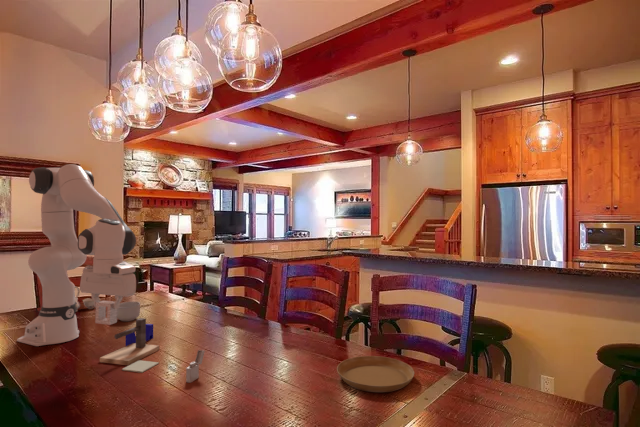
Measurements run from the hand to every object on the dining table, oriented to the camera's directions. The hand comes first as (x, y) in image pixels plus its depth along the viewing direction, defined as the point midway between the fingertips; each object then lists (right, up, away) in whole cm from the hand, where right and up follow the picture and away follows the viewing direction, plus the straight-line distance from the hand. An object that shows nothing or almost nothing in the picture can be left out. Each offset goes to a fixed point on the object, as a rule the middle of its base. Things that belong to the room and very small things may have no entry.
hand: (106, 307), depth 126 cm
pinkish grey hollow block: (0, -5, 0) cm, 5 cm away
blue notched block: (-2, -21, +25) cm, 33 cm away
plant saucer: (+90, -21, -9) cm, 93 cm away
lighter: (+33, -20, -9) cm, 40 cm away
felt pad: (+12, -20, 0) cm, 23 cm away
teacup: (-25, -21, +60) cm, 68 cm away
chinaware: (-61, -22, +74) cm, 98 cm away
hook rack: (+3, -20, +10) cm, 23 cm away
